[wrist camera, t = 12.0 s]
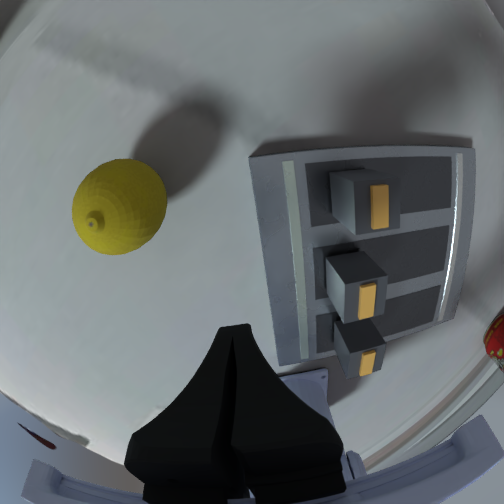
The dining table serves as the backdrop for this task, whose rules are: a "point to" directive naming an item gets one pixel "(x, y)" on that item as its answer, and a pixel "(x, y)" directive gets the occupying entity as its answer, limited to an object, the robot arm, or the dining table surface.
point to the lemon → (119, 206)
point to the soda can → (496, 341)
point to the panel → (362, 239)
